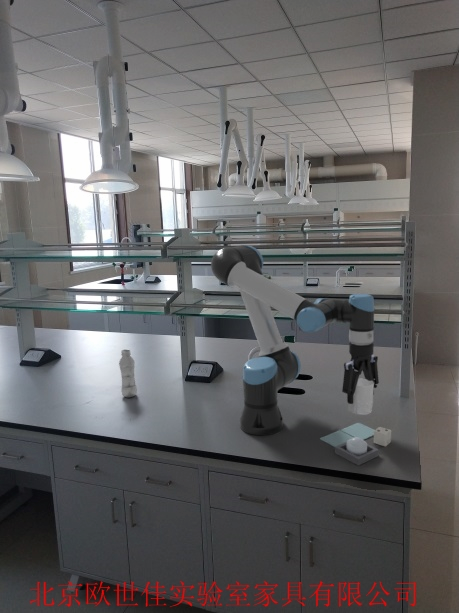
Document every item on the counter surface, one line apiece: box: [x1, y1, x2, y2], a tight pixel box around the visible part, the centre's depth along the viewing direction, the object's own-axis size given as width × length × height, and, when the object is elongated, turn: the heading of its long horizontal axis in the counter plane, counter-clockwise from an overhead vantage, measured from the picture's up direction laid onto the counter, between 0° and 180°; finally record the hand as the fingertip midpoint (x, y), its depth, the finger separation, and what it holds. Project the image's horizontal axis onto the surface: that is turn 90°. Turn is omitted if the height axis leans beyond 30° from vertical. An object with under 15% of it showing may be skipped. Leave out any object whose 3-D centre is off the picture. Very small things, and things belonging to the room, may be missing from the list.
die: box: [373, 426, 392, 448], centre depth 141 cm, size 4×4×4 cm
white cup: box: [354, 377, 375, 416], centre depth 146 cm, size 8×8×10 cm
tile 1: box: [319, 429, 354, 448], centre depth 144 cm, size 9×9×1 cm
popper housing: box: [334, 442, 380, 466], centre depth 135 cm, size 9×9×2 cm
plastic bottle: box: [118, 348, 138, 398], centre depth 186 cm, size 6×7×20 cm
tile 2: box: [339, 422, 376, 441], centre depth 149 cm, size 9×9×1 cm
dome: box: [346, 437, 368, 456], centre depth 134 cm, size 6×6×5 cm
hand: (360, 408), depth 147 cm, fingers closed on white cup, 8 cm apart
